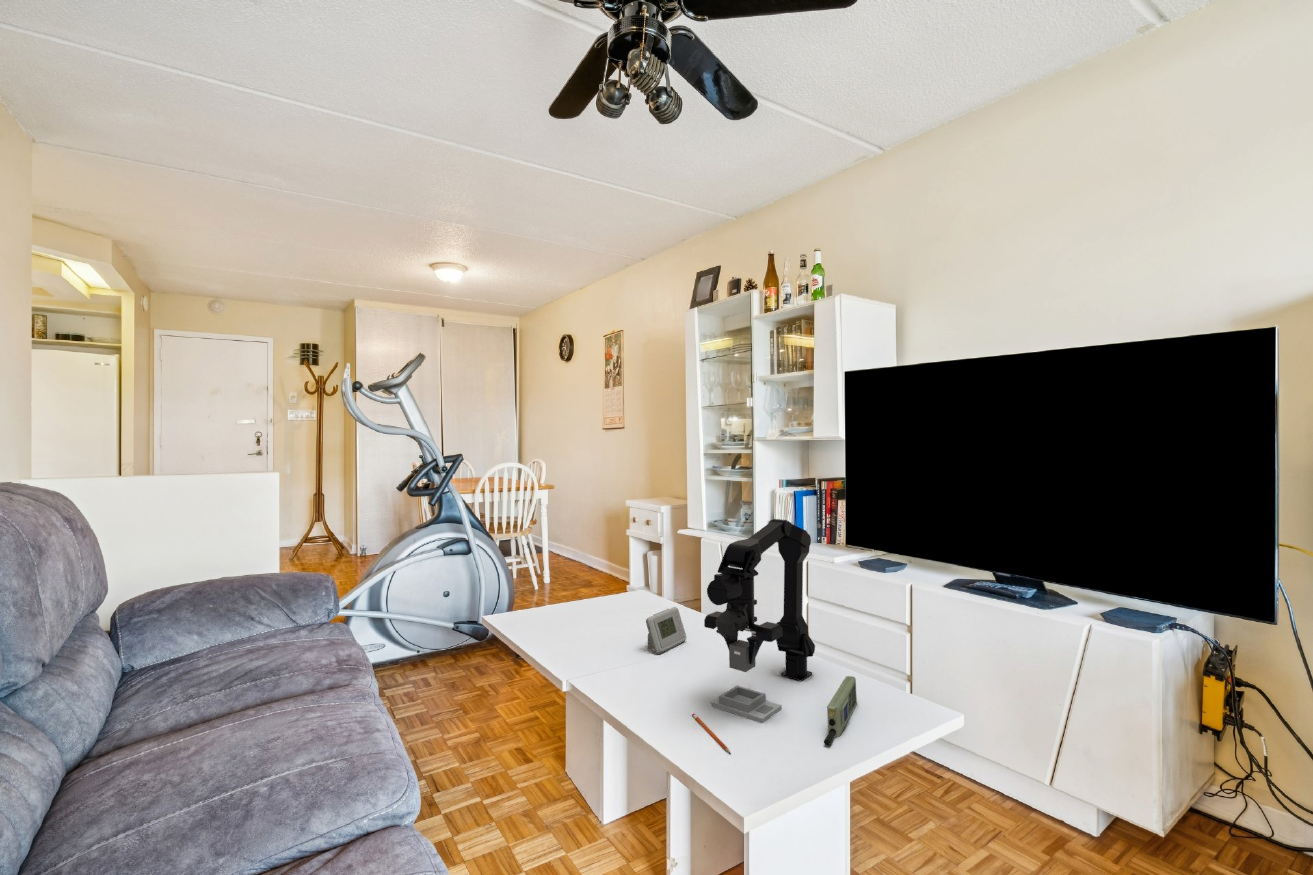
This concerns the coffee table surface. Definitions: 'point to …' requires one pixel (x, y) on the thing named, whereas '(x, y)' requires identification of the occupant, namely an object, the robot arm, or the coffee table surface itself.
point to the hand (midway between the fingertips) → (742, 661)
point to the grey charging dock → (746, 704)
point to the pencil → (711, 733)
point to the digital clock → (665, 630)
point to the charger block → (740, 656)
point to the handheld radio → (841, 708)
